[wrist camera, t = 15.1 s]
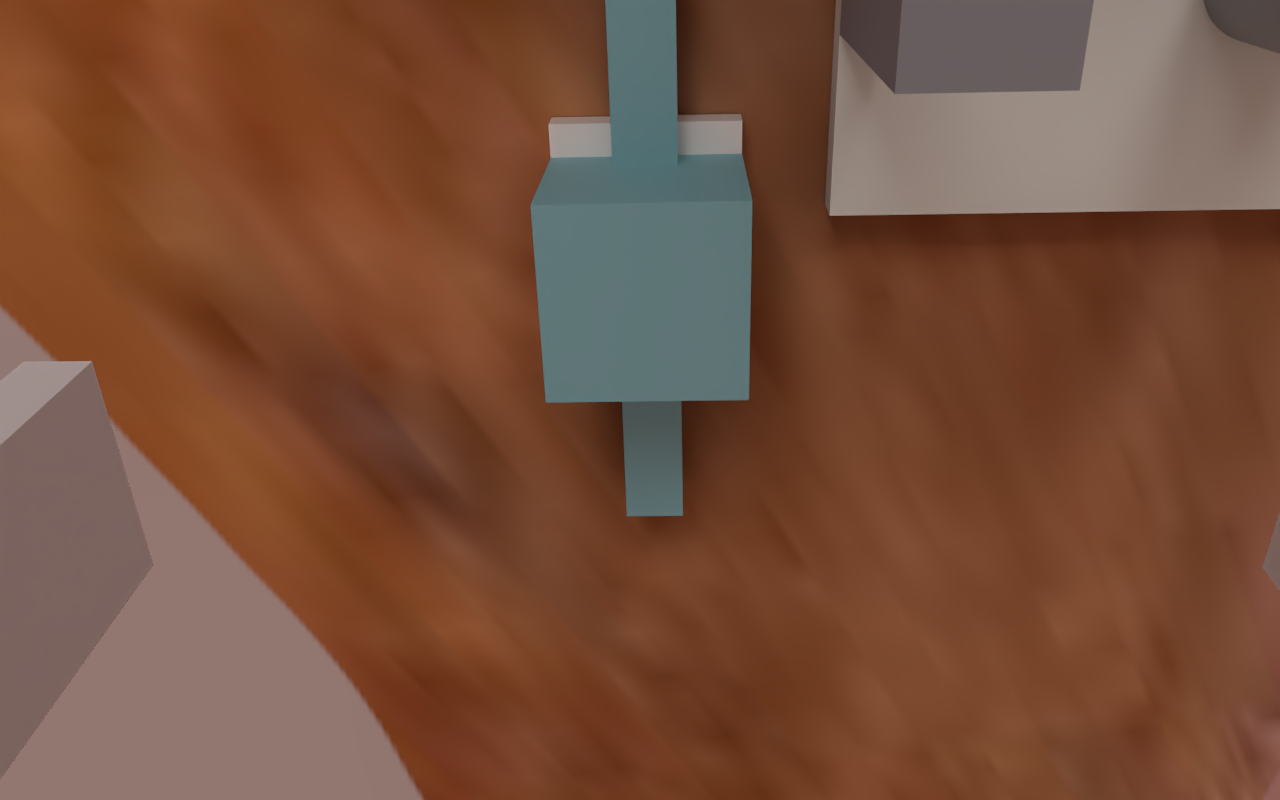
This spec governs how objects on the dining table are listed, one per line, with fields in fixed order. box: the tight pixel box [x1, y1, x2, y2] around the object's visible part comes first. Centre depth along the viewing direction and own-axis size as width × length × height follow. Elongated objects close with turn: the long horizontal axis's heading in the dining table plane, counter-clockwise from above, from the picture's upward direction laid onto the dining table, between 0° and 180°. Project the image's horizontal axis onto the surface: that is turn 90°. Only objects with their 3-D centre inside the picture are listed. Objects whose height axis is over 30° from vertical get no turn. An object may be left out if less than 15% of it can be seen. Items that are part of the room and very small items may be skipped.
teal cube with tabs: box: [530, 0, 752, 516], centre depth 33 cm, size 6×19×5 cm, turn 2°
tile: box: [548, 114, 742, 158], centre depth 35 cm, size 8×6×1 cm
